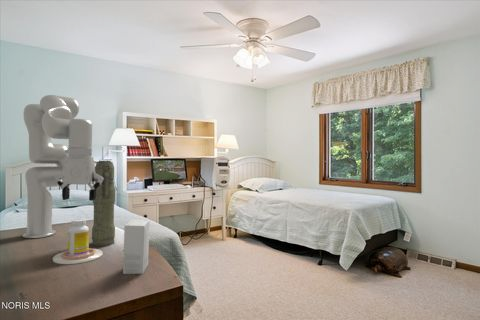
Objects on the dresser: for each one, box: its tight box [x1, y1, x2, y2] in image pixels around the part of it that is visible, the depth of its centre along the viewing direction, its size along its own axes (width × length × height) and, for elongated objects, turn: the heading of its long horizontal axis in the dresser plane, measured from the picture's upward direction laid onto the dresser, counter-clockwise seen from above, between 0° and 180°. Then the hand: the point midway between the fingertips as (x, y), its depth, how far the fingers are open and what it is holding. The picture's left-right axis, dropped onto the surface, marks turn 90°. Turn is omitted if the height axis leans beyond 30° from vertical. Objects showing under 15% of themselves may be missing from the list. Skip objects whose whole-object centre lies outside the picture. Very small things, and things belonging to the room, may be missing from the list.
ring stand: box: [52, 247, 103, 265], centre depth 109 cm, size 16×16×2 cm
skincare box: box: [122, 219, 150, 275], centre depth 97 cm, size 8×7×16 cm
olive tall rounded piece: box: [91, 160, 116, 247], centre depth 126 cm, size 9×12×35 cm
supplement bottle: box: [67, 218, 90, 257], centre depth 109 cm, size 7×7×13 cm
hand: (79, 199), depth 109 cm, fingers open, 9 cm apart
